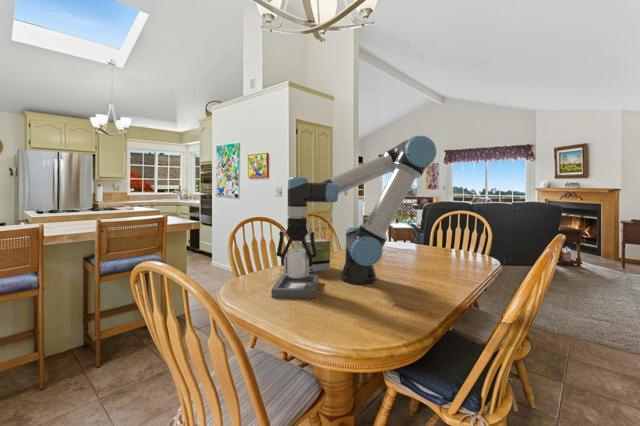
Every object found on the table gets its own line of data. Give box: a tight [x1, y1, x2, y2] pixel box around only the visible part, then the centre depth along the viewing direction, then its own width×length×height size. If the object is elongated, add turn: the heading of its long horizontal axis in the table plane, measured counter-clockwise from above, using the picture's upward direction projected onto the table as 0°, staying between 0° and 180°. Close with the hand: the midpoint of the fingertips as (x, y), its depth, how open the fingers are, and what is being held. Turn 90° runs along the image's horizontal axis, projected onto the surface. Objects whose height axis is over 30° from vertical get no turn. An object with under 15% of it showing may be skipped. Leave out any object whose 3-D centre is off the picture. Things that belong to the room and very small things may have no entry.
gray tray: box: [271, 273, 320, 300], centre depth 129 cm, size 16×20×3 cm
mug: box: [286, 247, 308, 278], centre depth 128 cm, size 12×8×10 cm
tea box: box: [293, 237, 331, 273], centre depth 158 cm, size 15×10×15 cm, turn 117°
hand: (296, 274), depth 129 cm, fingers closed on mug, 8 cm apart
